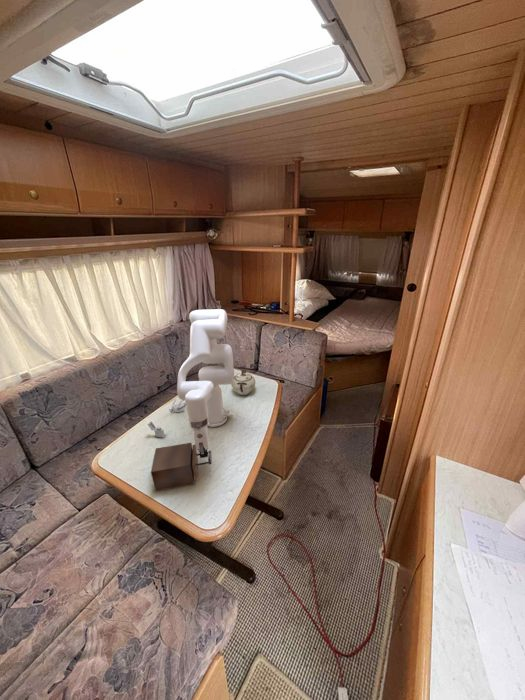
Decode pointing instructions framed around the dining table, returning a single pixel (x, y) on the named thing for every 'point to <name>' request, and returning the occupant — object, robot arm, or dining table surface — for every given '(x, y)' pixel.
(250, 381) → the sugar bowl
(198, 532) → the dining table surface
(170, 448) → the cabinet
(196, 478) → the drawer
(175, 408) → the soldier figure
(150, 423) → the lighter
